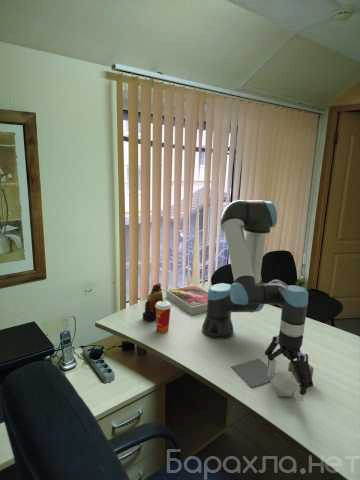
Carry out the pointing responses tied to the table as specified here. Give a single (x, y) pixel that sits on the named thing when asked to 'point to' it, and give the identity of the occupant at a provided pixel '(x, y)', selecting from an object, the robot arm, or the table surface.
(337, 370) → the table surface
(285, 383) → the die
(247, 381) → the grey mat
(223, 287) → the robot arm
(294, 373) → the letter block
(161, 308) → the paper cup
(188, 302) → the product packaging
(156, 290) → the statue
